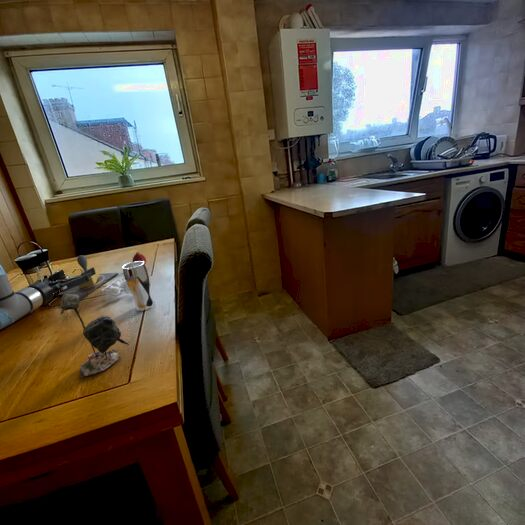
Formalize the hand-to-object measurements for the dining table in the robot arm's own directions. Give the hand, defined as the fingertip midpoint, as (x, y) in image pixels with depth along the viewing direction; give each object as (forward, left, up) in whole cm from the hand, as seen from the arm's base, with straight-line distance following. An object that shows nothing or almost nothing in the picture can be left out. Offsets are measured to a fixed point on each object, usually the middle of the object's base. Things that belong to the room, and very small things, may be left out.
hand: (78, 271), depth 112 cm
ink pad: (+4, -10, -7) cm, 13 cm away
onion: (+15, +19, -7) cm, 25 cm away
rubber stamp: (0, +3, -6) cm, 7 cm away
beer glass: (+37, -19, -7) cm, 42 cm away
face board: (-3, +3, -7) cm, 9 cm away
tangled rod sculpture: (+20, -3, -7) cm, 21 cm away
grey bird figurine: (+41, -46, -7) cm, 62 cm away
